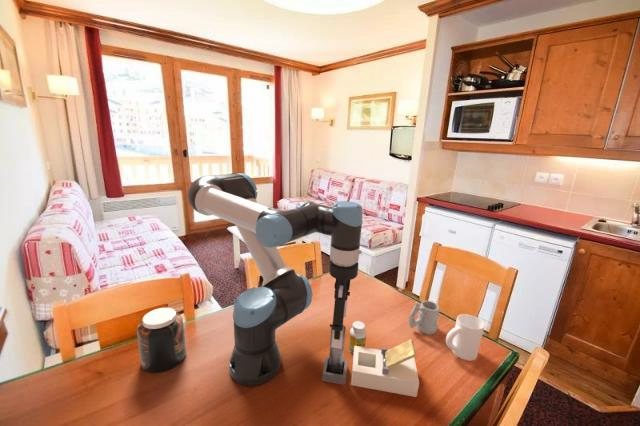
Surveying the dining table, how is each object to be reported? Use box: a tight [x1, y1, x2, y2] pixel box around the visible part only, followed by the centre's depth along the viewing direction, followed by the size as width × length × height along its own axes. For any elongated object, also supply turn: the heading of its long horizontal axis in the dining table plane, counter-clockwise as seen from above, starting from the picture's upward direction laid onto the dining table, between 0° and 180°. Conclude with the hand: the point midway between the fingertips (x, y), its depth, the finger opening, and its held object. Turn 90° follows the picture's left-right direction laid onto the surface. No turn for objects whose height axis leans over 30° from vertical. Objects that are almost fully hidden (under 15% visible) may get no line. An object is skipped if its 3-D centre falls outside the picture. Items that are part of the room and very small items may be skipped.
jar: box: [136, 307, 187, 374], centre depth 84 cm, size 12×12×15 cm
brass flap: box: [383, 339, 417, 368], centre depth 81 cm, size 10×6×1 cm
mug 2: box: [445, 313, 485, 362], centre depth 93 cm, size 8×12×12 cm
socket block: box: [350, 346, 420, 398], centre depth 83 cm, size 18×10×7 cm, turn 80°
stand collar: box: [321, 356, 348, 386], centre depth 84 cm, size 7×7×2 cm
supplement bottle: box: [348, 320, 367, 355], centre depth 93 cm, size 5×5×10 cm
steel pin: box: [327, 325, 347, 375], centre depth 82 cm, size 4×4×16 cm
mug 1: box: [408, 300, 440, 336], centre depth 104 cm, size 8×12×12 cm, turn 105°
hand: (339, 330), depth 80 cm, fingers open, 13 cm apart
